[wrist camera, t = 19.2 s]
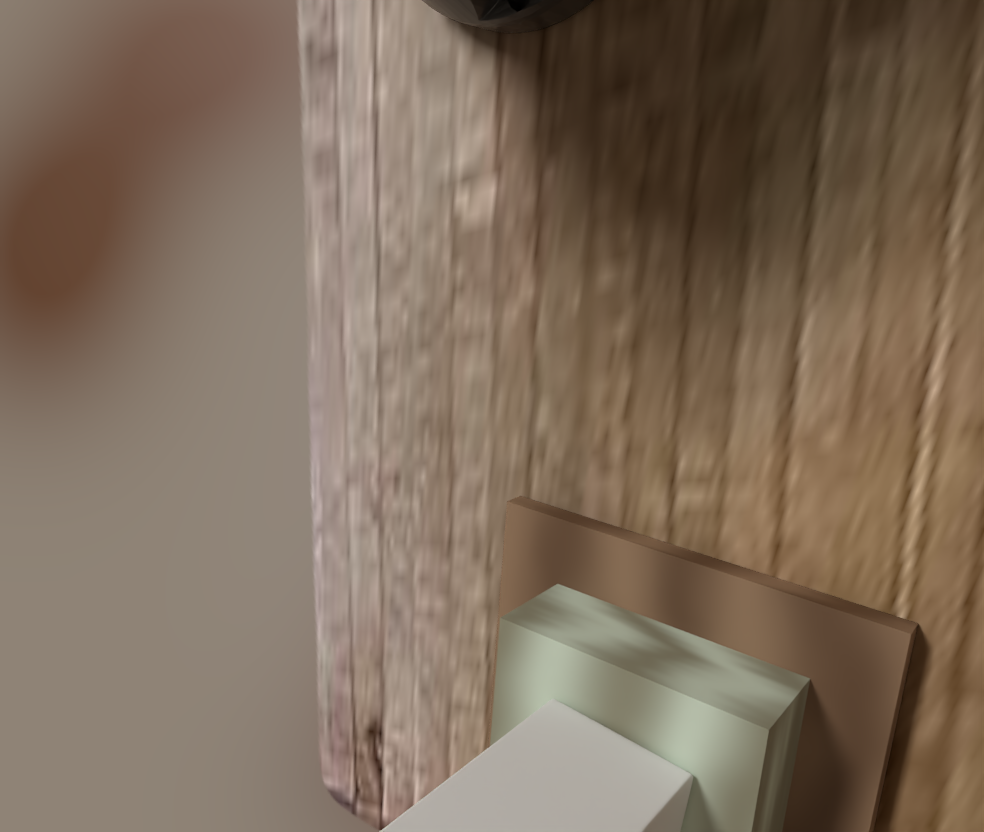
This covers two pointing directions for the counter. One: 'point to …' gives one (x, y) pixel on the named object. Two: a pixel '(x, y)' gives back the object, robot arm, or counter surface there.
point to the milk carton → (556, 783)
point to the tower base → (744, 623)
